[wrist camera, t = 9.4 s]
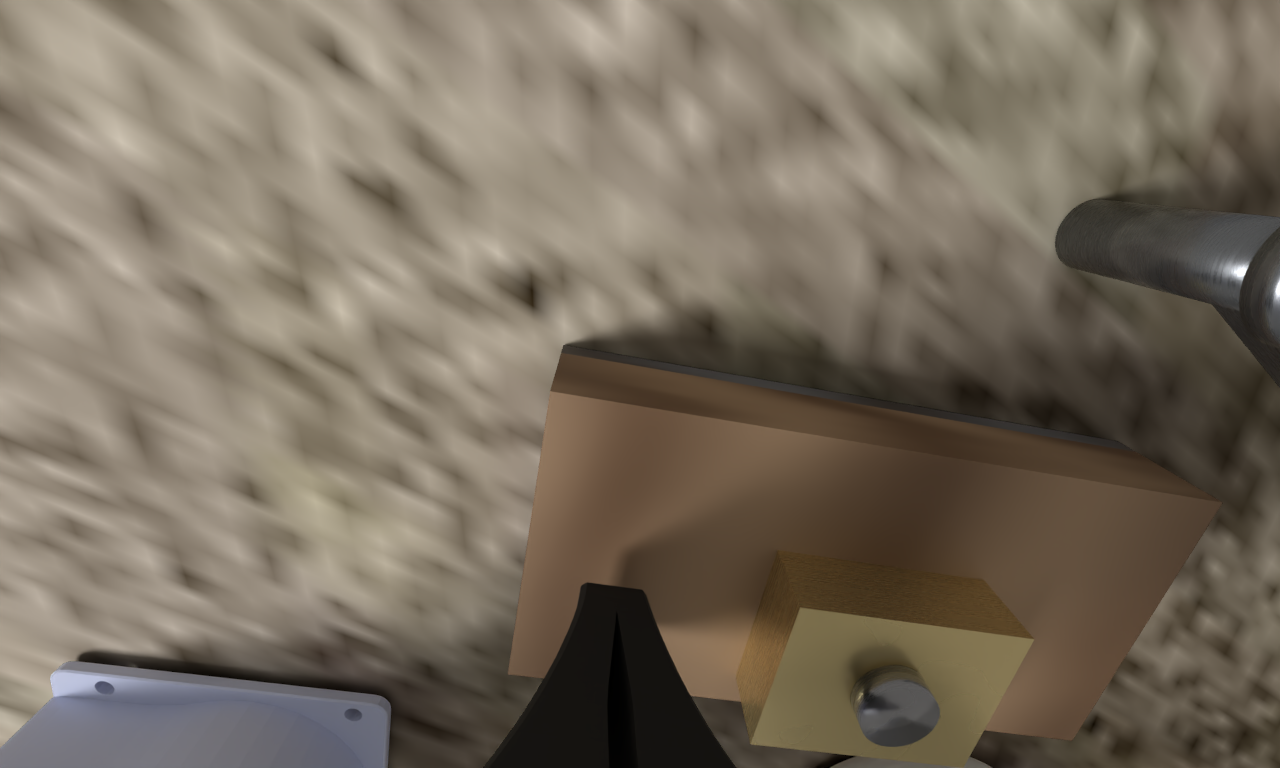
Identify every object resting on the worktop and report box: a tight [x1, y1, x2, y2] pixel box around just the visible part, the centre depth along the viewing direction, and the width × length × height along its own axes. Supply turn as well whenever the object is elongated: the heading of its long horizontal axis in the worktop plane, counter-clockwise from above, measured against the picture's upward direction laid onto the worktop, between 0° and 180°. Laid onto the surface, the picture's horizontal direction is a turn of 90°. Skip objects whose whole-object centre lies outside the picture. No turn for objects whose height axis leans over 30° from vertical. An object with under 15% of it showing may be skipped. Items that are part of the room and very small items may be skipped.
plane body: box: [508, 345, 1223, 741], centre depth 15 cm, size 15×8×3 cm, turn 79°
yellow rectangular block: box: [736, 550, 1034, 768], centre depth 13 cm, size 5×4×2 cm
